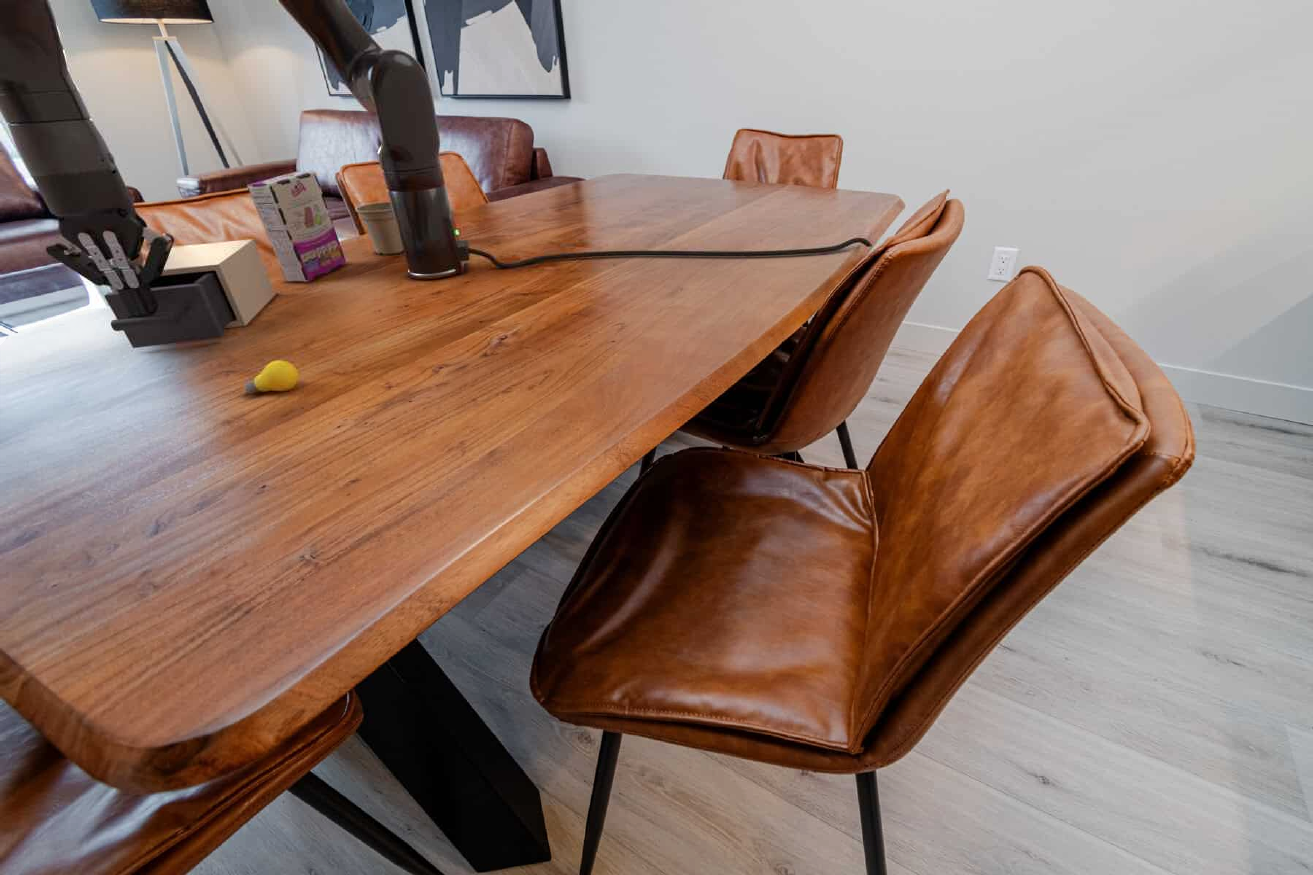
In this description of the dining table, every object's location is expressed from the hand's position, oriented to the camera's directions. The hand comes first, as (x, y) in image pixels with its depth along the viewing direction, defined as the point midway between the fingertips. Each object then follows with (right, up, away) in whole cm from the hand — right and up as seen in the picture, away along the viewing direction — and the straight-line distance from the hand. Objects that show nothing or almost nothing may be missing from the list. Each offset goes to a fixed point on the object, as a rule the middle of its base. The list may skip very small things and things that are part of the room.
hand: (147, 315), depth 76 cm
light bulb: (+20, -10, -6) cm, 24 cm away
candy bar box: (+2, +14, +34) cm, 37 cm away
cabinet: (-3, +4, +17) cm, 18 cm away
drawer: (-1, 0, +9) cm, 9 cm away
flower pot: (+12, +22, +45) cm, 51 cm away
